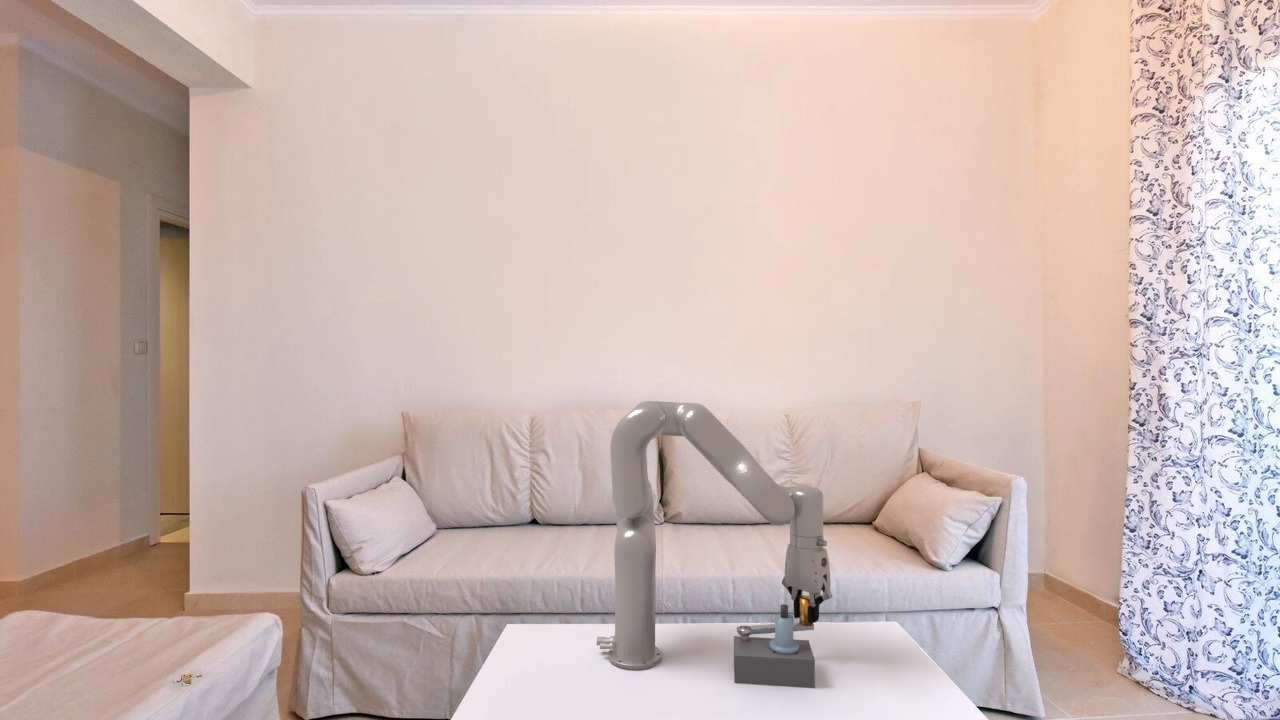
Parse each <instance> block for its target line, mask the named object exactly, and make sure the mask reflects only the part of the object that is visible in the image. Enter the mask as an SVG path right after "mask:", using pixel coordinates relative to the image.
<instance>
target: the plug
mask: <svg viewBox="0 0 1280 720" xmlns="http://www.w3.org/2000/svg"><path fill="white" fill-rule="evenodd" d="M794 619H795V618H794V615H791V614H789V605H787V604H784V603H783V604H781V605H780V613H777V614H775V615H774V624H775V633H774V638H775V639H772V640H771V641H770V649H771V650H772V651H773V652H775V653H778V654H783V655H792V654H796V653H797V652H798V651H799V644H798V643H797V642H796V641H794V640H795V639H794V631H793V623H794ZM793 639H794V640H793Z"/></svg>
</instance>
